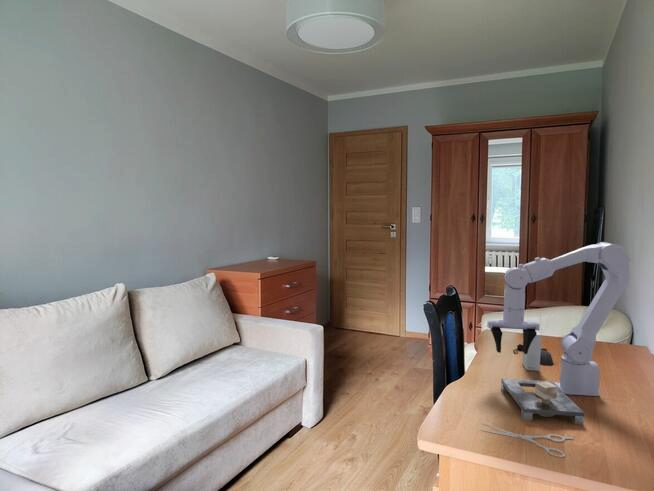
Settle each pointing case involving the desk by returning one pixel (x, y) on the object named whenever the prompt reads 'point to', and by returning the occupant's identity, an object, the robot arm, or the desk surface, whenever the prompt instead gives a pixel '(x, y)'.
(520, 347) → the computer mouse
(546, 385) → the key peg
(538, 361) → the skincare box
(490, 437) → the desk surface
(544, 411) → the keyhole plate
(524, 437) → the scissors
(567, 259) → the robot arm
